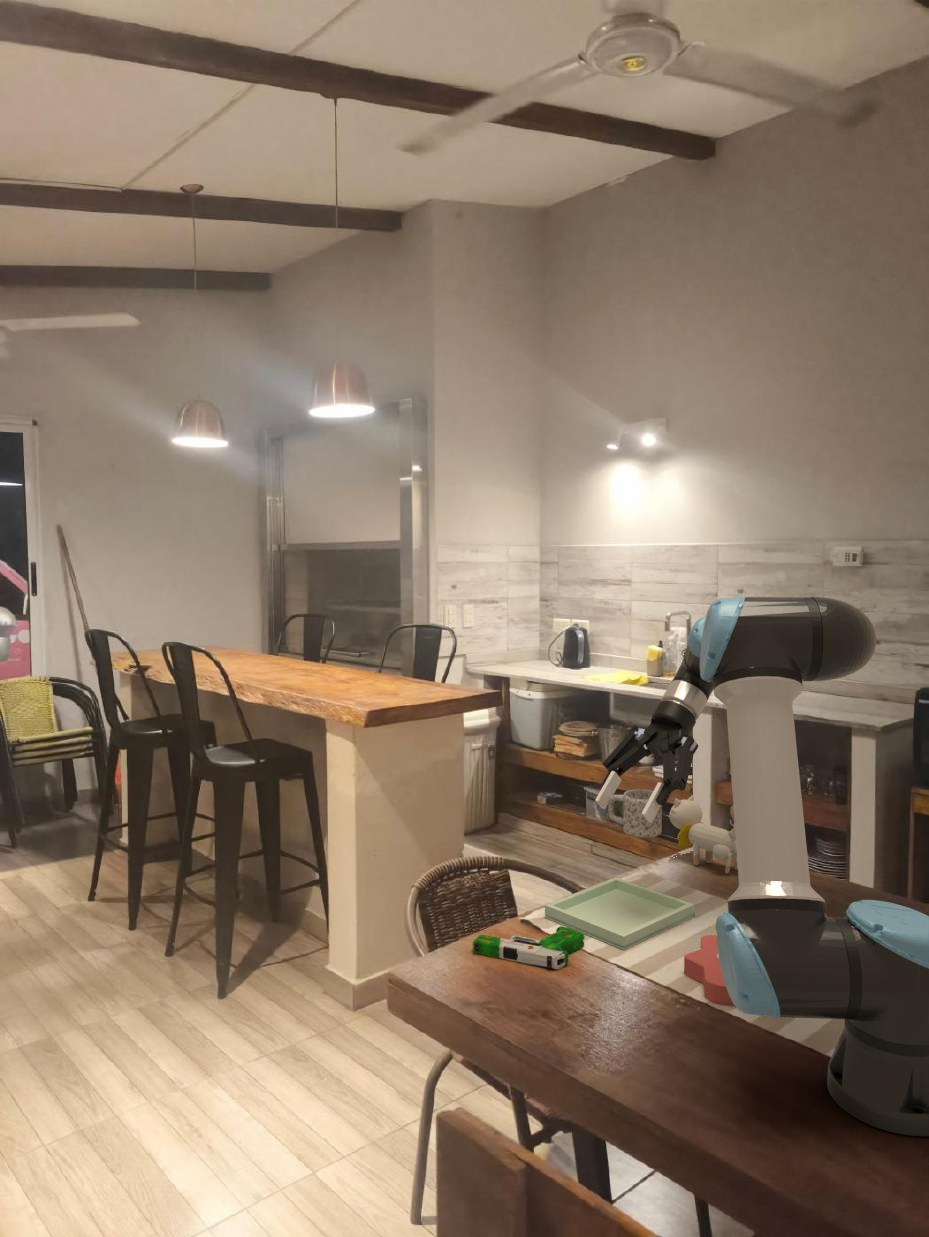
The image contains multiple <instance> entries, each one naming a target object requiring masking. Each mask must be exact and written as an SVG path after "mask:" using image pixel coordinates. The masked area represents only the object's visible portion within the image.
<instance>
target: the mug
mask: <svg viewBox="0 0 929 1237" xmlns="http://www.w3.org/2000/svg"><path fill="white" fill-rule="evenodd" d="M653 791H654V790H650V789H630V790H627V791H625V792H623V794H614V795H612V796H610V798H609V803H608V805H607V806H608V808H607V810H608V817H609V819H610V820H612V821H614V822H615V823H617V824H620V825H622V826H623V832H624V833H625V834H626V835H628V836H632V837H634V838H635V837H637V838H654V837H658V836H659V835H661V834H662V827H663V826H662V823H663V820H662V817H663V809H662V808H663V806H662V805H661V807H660V808H659V810H658V812H657V814H656V816H655V818H654V820H653V821H652V823H650V822H648V821H647V820H646V818H645V817H644V816H643V815H642V814H641V813H642V811H643V809H644V808H645V806H646V804H647V802H648V800H649V798H650V797H651V795H652V793H653ZM615 802H622V803H623V816H617V815H616V814H615V810H614V808H615V807H614V806H615V805H614V804H615Z"/></svg>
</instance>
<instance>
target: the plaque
mask: <svg viewBox="0 0 929 1237" xmlns="http://www.w3.org/2000/svg"><path fill="white" fill-rule="evenodd" d="M716 938H717V934H707V935H702V936H701V937H700V948H699V949H697V950H695V951H692V952H689V953H686V954H685V955H684V957H683V961H684V962H683V974H684V975H685V976H687V977H689V978H691V979H693V980H695V981H696V982H698V983H700V984H702V985H703V992H704V994H703V995H704V997H705V999H706V1000H708V1001H710V1002H712V1003H715V1004H719V1005H731V1006H735V1005H734V1003H733V1002H732V1000H731V998H730V996H729V994H728V991H727V988H726V985H725V982H724V978H723V974H722V970H721V966H720V961H719V955H718V948H717V939H716Z"/></svg>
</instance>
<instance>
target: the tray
mask: <svg viewBox="0 0 929 1237" xmlns="http://www.w3.org/2000/svg"><path fill="white" fill-rule="evenodd" d="M544 918H545V919H547V920H550V921H552V922H555V923H557V924H560V925H562V926H563V927H566V928H570V929H574V930H577V931H580V932H582V933H583V934H584V935H587V936H589V937H592V938H594V939H597V940H599V941H600V942H603V943H605V944H608V945H610V946H613V947H616V948H618V949H620V950H622V951H625V950H627V949H630V948H631V947H634V946H636V945H637V944H640V943H642V942H644V941H646V940H648V939H651V938H653V937H655V936H656V935H657V936H658V935H659V934H661V933H663V932H665V931H667V930H669V929H671V928H673V927H676V926H677V925H680V924H682V923H684V922H686V921H688V920H690V919H692V918H695V904H694V903H691V902H689V901H685V900H683V899H680V898H677V897H674V896H673V895H672V896H671V895H668V894H665V893H662V892H659V891H656V890H654V889H651V888H648V887H645V886H642V885H639V884H636V883H633V882H630V881H627V880H624V879H621V878H618V877H613V878H610V879H608V880H606V881H603V882H601V883H598V884H595V885H593V886H591V887H588V888H585V889H583V890H580V891H577V892H575V893H573V894H570V895H568V896H565V897H562V898H560V899H557V900H555V901H551V902H550V903H548V904H544Z"/></svg>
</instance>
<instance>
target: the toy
mask: <svg viewBox="0 0 929 1237" xmlns="http://www.w3.org/2000/svg"><path fill="white" fill-rule="evenodd" d="M673 803H674V804H673V805H672V807H671V809H670V811H669V814H668V816H669V820H670V823H671V824H672V825H673V826H674V828H676V829H679V830H680V831H679V832H678V834H677V841H678V849H679V850H687V849H689V847H691V846H692V845H693V847H692V848H693V850H692V853H693V854H692V855H693V856H692V863H693V865H694V866H696V867H698V866H699V865H700V856H701V854H700V853H701V850H700V849H702V850H705V858H704V859H705V862H706V863H707V864H711V863H712V862H713V858H715V859H717V860H718V861H725V860H726V861H725V863H726V864H725V868H724V873H725V874H726V875H727V874H729V873H730V870H731V865H732V864H731V863H732V857H735V862H734V869H735V870H736V871H738V864H737V850H736V836H735V822H734V808H733V805H731V806H730V808H729V809H730V810H729V814H730V816H731V817H730V818H732V820H733V827H732V829H731V830H730V831H729V830H727V829H724V828H721V827H717V826H715V825H710V824H707V823H704V822H703V821H702V819H703V808H702V807H701V806H700V805H699V804H698V802H696V801H694V794H691V796H689V798H687V799H678V798H677V797H675V798H674V801H673Z"/></svg>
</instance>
